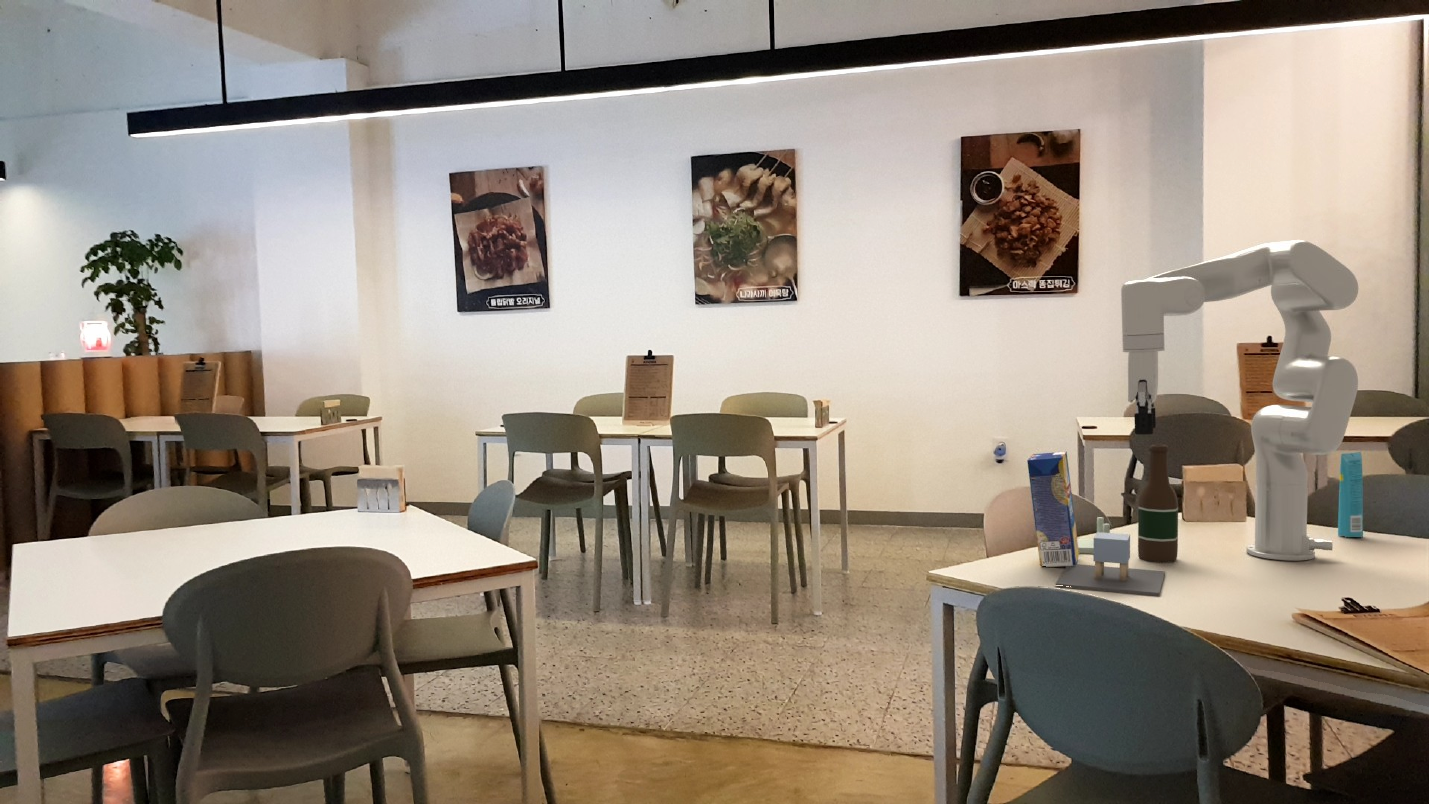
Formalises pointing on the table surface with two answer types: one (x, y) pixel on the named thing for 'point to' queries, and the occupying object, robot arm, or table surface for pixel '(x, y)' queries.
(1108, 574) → the charcoal mat
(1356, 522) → the teal carton
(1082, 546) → the mint twin-peg base
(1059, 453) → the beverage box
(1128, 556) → the slate-blue stool
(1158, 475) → the beer bottle
